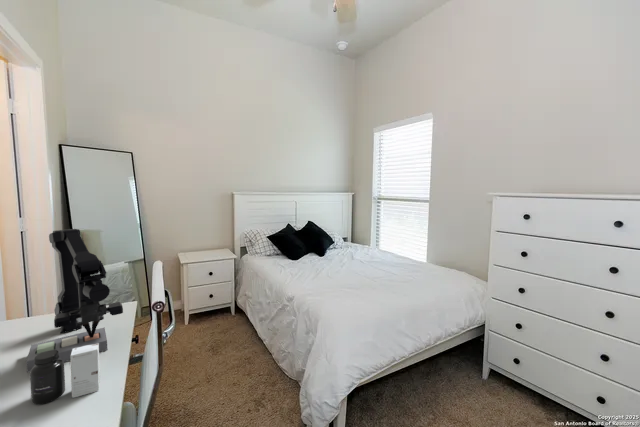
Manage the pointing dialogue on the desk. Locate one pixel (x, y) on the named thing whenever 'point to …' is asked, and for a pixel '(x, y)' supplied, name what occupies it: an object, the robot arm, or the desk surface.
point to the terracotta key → (87, 338)
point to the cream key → (69, 341)
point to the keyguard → (66, 351)
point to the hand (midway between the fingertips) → (91, 337)
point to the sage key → (45, 347)
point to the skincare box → (85, 370)
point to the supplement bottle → (47, 378)
